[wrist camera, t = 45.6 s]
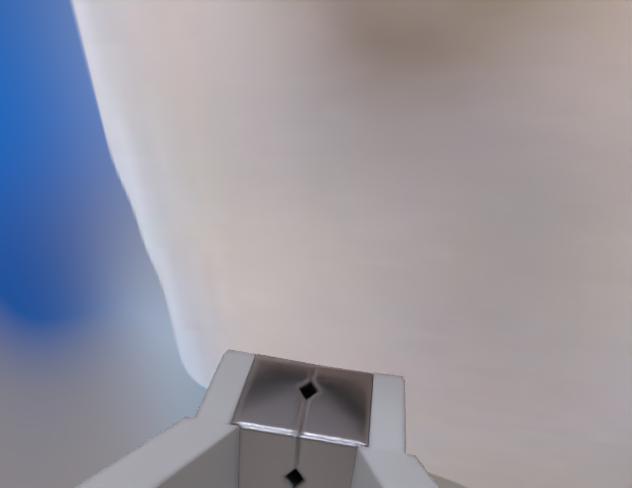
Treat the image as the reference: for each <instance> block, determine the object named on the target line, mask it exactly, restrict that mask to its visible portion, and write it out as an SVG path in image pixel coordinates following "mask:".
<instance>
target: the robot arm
mask: <svg viewBox="0 0 632 488" xmlns="http://www.w3.org/2000/svg"><path fill="white" fill-rule="evenodd" d="M74 488H439V487H438V485H437V484H436V483H435V481H434V480H433V479H432V477H431V476H430V474H429V473H428V472H427V470H426V469H425V468H424V466H423V465H422V464H421V462H420V461H419V460H418V458H417V457H416V456H415V455H410V454H406V416H405V380H404V378H403V376H395V375H388V374H380V373H373V374H372V373H368V372H362V371H355V370H348V369H342V368H335V367H328V366H322V365H315V364H310V363H304V362H299V361H293V360H288V359H282V358H276V357H271V356H265V355H260V354H258V355H256V354H252V353H246V352H240V351H235V350H228V351H227V352H226V353H225V354H224V355H223V357H222V359H221V361H220V363H219V365H218V367H217V370H216V372H215V374H214V376H213V378H212V381H211V383H210V385H209V387H208V389H207V392H206V394H205V396H204V398H203V401H202V403H201V405H200V407H199V409H198V411H197V414H196V416H195V418H189V417H184V418H183V419H181V420H180V421H178V422H177V423H175V424H173V425H172V426H170V427H169V428H167V429H166V430H164V431H163V432H161V433H159V434H158V435H156V436H154V437H153V438H151V439H150V440H148V441H146V442H145V443H143V444H142V445H140V446H138V447H137V448H135V449H134V450H132V451H131V452H129V453H127V454H126V455H125V456H123V457H121V458H120V459H118V460H116V461H115V462H113V463H112V464H110V465H108V466H107V467H105V468H104V469H102V470H100V471H99V472H97V473H96V474H94V475H93V476H91V477H89V478H88V479H86V480H85V481H83V482H81V483H80V484H78V485H77V486H75V487H74Z"/></svg>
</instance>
